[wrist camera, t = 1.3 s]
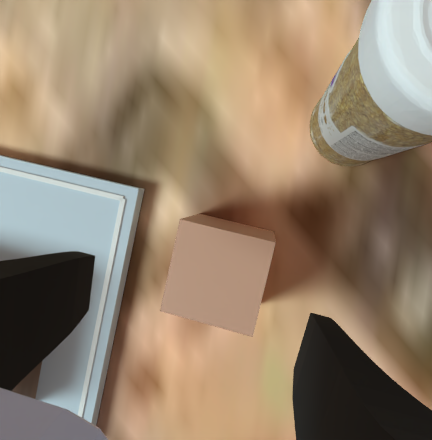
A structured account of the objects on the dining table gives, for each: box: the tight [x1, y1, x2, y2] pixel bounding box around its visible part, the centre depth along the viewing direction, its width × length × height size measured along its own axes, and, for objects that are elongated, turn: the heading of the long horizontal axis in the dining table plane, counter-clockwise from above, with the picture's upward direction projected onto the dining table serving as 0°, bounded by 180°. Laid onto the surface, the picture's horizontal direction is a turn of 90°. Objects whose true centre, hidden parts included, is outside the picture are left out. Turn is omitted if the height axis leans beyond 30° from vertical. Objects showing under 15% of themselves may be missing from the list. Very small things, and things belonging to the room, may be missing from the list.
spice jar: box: [310, 0, 432, 167], centre depth 14 cm, size 5×5×13 cm
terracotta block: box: [160, 214, 276, 337], centre depth 19 cm, size 5×5×5 cm
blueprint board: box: [0, 155, 144, 426], centre depth 23 cm, size 17×14×1 cm
